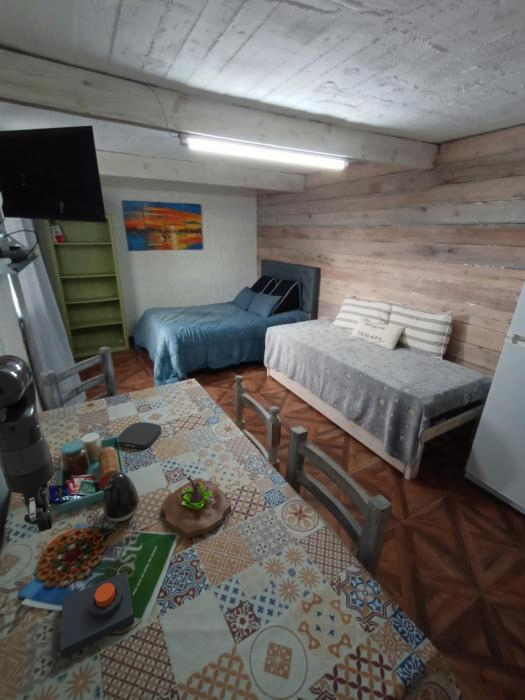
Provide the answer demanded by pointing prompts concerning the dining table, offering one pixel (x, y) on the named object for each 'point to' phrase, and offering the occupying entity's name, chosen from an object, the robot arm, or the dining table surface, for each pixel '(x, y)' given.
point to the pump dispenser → (119, 497)
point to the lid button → (105, 595)
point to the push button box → (94, 615)
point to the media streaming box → (139, 435)
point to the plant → (195, 508)
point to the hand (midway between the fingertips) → (46, 527)
